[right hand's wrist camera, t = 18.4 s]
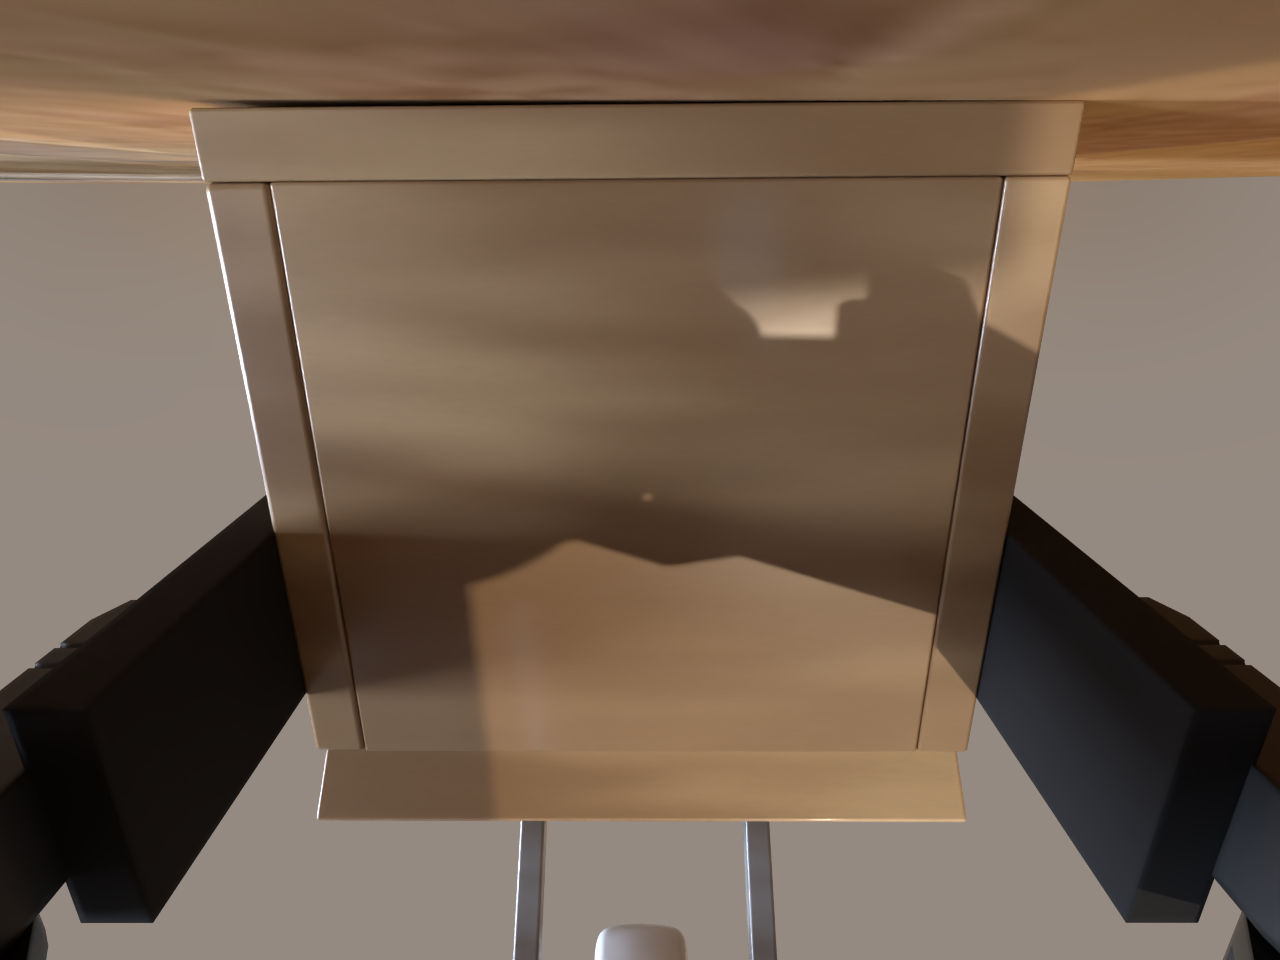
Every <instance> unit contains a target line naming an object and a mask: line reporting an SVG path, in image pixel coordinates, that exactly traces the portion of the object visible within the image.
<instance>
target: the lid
mask: <svg viewBox="0 0 1280 960" xmlns="http://www.w3.org/2000/svg"><path fill="white" fill-rule="evenodd" d="M317 819H318V820H392V821H393V820H394V821H397V820H398V821H400V820H401V821H521V825H520V843H519V861H518V878H517V896H516V914H515V932H514V950H513V960H541V946H542V924H543V901H544V879H545V856H546V833H547V821H743V835H744V858H745V880H746V902H747V924H748V946H749V960H777V950H776V933H775V916H774V898H773V881H772V863H771V846H770V829H769V821H797V822H800V821H801V822H803V821H805V822H964V821H966V813H965V806H964V800H963V793H962V786H961V779H960V772H959V766H958V759H957V752H956V751H918V750H917V749H916V751H914V752H798V751H367V750H366V747H364V748H363V749H360V750H327V753H326V760H325V767H324V773H323V780H322V787H321V793H320V800H319V807H318V813H317Z"/></svg>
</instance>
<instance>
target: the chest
mask: <svg viewBox="0 0 1280 960" xmlns="http://www.w3.org/2000/svg"><path fill="white" fill-rule="evenodd" d="M1084 108H1085V102H1084V101H1082V100H1055V101H903V102H794V103H686V104H577V105H468V106H359V107H251V108H192V109H190V110H189V115H190V120H191V125H192V130H193V135H194V140H195V145H196V150H197V155H198V160H199V165H200V170H201V175H202V179H203V180H204V181H206V182H212V183H211V184H209V185H208V186H207V189H206V192H207V197H208V203H209V208H210V213H211V218H212V223H213V228H214V233H215V238H216V243H217V248H218V253H219V258H220V263H221V268H222V273H223V278H224V283H225V288H226V293H227V298H228V303H229V308H230V313H231V318H232V323H233V329H234V334H235V338H236V344H237V349H238V354H239V359H240V364H241V369H242V374H243V379H244V384H245V389H246V394H247V399H248V404H249V409H250V414H251V419H252V424H253V430H254V434H255V440H256V445H257V450H258V455H259V460H260V465H261V470H262V475H263V480H264V485H265V490H266V495H267V500H268V505H269V510H270V515H271V520H272V525H273V530H274V532H275V537H276V542H277V548H278V553H279V558H280V563H281V569H282V574H283V579H284V584H285V589H286V595H287V600H288V605H289V610H290V615H291V621H292V626H293V631H294V636H295V641H296V646H297V651H298V657H299V662H300V667H301V672H302V677H303V682H304V687H305V692H306V697H307V702H308V707H309V712H310V717H311V722H312V727H313V732H314V737H315V742H316V746H317V748H318V749H321V750H360V749H363V748H364V747H366V750H367V751H798V752H914V751H916V749H917V750H918V751H966V750H967V746H968V741H969V735H970V730H971V724H972V719H973V713H974V708H975V702H976V697H977V691H978V686H979V680H980V675H981V669H982V664H983V659H984V653H985V648H986V642H987V637H988V631H989V626H990V620H991V615H992V609H993V604H994V598H995V593H996V587H997V582H998V576H999V571H1000V565H1001V560H1002V554H1003V549H1004V544H1005V538H1006V533H1007V527H1008V522H1009V516H1010V511H1011V505H1012V500H1013V494H1014V489H1015V483H1016V478H1017V472H1018V467H1019V461H1020V456H1021V450H1022V445H1023V439H1024V434H1025V429H1026V423H1027V418H1028V412H1029V406H1030V401H1031V396H1032V390H1033V385H1034V379H1035V373H1036V368H1037V363H1038V357H1039V352H1040V346H1041V341H1042V335H1043V330H1044V324H1045V319H1046V314H1047V308H1048V303H1049V297H1050V291H1051V286H1052V281H1053V275H1054V270H1055V264H1056V259H1057V253H1058V248H1059V242H1060V237H1061V231H1062V226H1063V220H1064V215H1065V209H1066V204H1067V198H1068V193H1069V188H1070V182H1071V180H1070V177H1068V176H1067V175H1070V174H1071V173H1072V172H1073V168H1074V163H1075V157H1076V152H1077V146H1078V141H1079V135H1080V130H1081V124H1082V119H1083V113H1084Z"/></svg>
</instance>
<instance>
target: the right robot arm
mask: <svg viewBox="0 0 1280 960" xmlns="http://www.w3.org/2000/svg"><path fill="white" fill-rule="evenodd" d="M1244 661H1245V660H1244V659H1242V658H1241V657H1240V656H1239V655H1237V654H1236V653H1235V652H1233V651H1232V650H1231V649H1230V648H1228V647H1227V646H1226V645H1220V644H1219V640H1218V639H1217V638H1215V637H1214V636H1213V635H1211V634H1210V633H1209V632H1208V631H1206V630H1205V629H1204V628H1202V627H1201V626H1200V625H1199V624H1197V623H1196V622H1195V621H1193V620H1192V619H1191V618H1190V617H1188V616H1186V615H1184V614H1182V613H1179V612H1177V611H1175V610H1173V609H1171V608H1169V607H1167V606H1165V605H1163V604H1161V603H1159V602H1157V601H1155V600H1153V599H1151V598H1149V597H1138V596H1137V595H1135V594H1134V593H1133V592H1132V591H1131V590H1129V589H1128V588H1127V587H1126V586H1124V585H1123V584H1122V583H1121V582H1120V581H1118V580H1117V579H1116V578H1115V577H1113V576H1112V575H1111V574H1110V573H1108V572H1107V571H1106V570H1105V569H1104V568H1102V567H1101V566H1100V565H1099V564H1097V563H1096V562H1095V561H1094V560H1092V559H1091V558H1090V557H1089V556H1087V555H1086V554H1085V553H1084V552H1083V551H1081V550H1080V549H1079V548H1078V547H1076V546H1075V545H1074V544H1073V543H1072V542H1070V541H1069V540H1068V539H1067V538H1065V537H1064V536H1063V535H1062V534H1060V533H1059V532H1058V531H1057V530H1056V529H1054V528H1053V527H1052V526H1051V525H1049V524H1048V523H1047V522H1046V521H1044V520H1043V519H1042V518H1041V517H1039V516H1038V515H1037V514H1036V513H1034V512H1033V511H1032V510H1031V509H1030V508H1028V507H1027V506H1026V505H1025V504H1023V503H1022V502H1021V501H1020V500H1019V499H1017V498H1016V497H1015V496H1014V495H1013V500H1012V505H1011V511H1010V516H1009V522H1008V527H1007V533H1006V538H1005V544H1004V549H1003V554H1002V560H1001V565H1000V571H999V576H998V582H997V587H996V593H995V598H994V604H993V609H992V615H991V620H990V626H989V631H988V637H987V642H986V648H985V653H984V659H983V664H982V669H981V675H980V680H979V686H978V691H977V697H976V698H977V699H978V701H979V702H980V704H981V705H982V707H983V708H984V710H985V711H986V713H987V714H988V716H989V717H990V719H991V720H992V722H993V723H994V725H995V726H996V728H997V729H998V731H999V732H1000V734H1001V735H1002V737H1003V738H1004V740H1005V741H1006V743H1007V744H1008V746H1009V747H1010V749H1011V750H1012V752H1013V753H1014V755H1015V756H1016V758H1017V759H1018V761H1019V762H1020V764H1021V765H1022V767H1023V768H1024V770H1025V771H1026V773H1027V774H1028V776H1029V777H1030V779H1031V780H1032V782H1033V783H1034V785H1035V786H1036V788H1037V789H1038V791H1039V792H1040V794H1041V795H1042V797H1043V798H1044V800H1045V801H1046V803H1047V804H1048V806H1049V807H1050V809H1051V810H1052V812H1053V813H1054V815H1055V816H1056V818H1057V820H1058V821H1059V822H1060V824H1061V825H1062V827H1063V828H1064V830H1065V831H1066V833H1067V835H1068V836H1069V837H1070V839H1071V841H1072V842H1073V844H1074V845H1075V847H1076V848H1077V850H1078V851H1079V853H1080V854H1081V856H1082V857H1083V859H1084V860H1085V862H1086V863H1087V865H1088V866H1089V868H1090V869H1091V871H1092V872H1093V874H1094V875H1095V877H1096V878H1097V880H1098V881H1099V883H1100V884H1101V886H1102V887H1103V889H1104V890H1105V892H1106V893H1107V895H1108V896H1109V898H1110V899H1111V901H1112V902H1113V904H1114V905H1115V907H1116V908H1117V910H1118V911H1119V913H1120V914H1121V916H1122V917H1123V919H1124V920H1125V922H1126V923H1198V921H1199V919H1200V916H1201V913H1202V910H1203V908H1204V905H1205V902H1206V900H1207V897H1208V894H1209V891H1210V889H1211V886H1212V883H1213V880H1214V878H1215V880H1216V881H1217V882H1218V883H1219V884H1220V886H1221V887H1222V888H1223V889H1224V890H1225V892H1226V893H1227V894H1228V895H1229V896H1230V898H1231V899H1232V900H1233V901H1234V902H1235V904H1236V905H1237V906H1238V907H1239V908H1240V910H1241V911H1242V912H1241V915H1240V918H1239V920H1238V923H1237V925H1236V928H1235V930H1234V933H1233V935H1232V938H1231V940H1230V943H1229V945H1228V948H1227V951H1226V953H1225V956H1224V958H1223V960H1280V687H1279V686H1277V685H1276V684H1275V683H1273V682H1272V681H1271V680H1270V679H1268V678H1267V677H1266V676H1264V675H1263V674H1262V673H1261V672H1259V671H1258V670H1257V669H1255V668H1254V667H1253V666H1251V665H1245V663H1244ZM305 694H306V692H305V687H304V682H303V677H302V672H301V667H300V662H299V657H298V651H297V646H296V641H295V636H294V631H293V626H292V621H291V615H290V610H289V605H288V600H287V595H286V589H285V584H284V579H283V574H282V569H281V563H280V558H279V553H278V548H277V542H276V537H275V532H274V530H273V525H272V520H271V515H270V510H269V505H268V500H267V495H266V496H264V497H263V498H262V499H261V500H259V501H258V502H257V503H256V504H254V505H253V506H252V507H251V508H250V509H248V510H247V511H246V512H245V513H243V514H242V515H241V516H240V517H238V518H237V519H236V520H235V521H234V522H232V523H231V524H230V525H229V526H227V527H226V528H225V529H224V530H222V531H221V532H220V533H219V534H217V535H216V536H215V537H214V538H213V539H211V540H210V541H209V542H208V543H206V544H205V545H204V546H203V547H201V548H200V549H199V550H198V551H197V552H195V553H194V554H193V555H192V556H190V557H189V558H188V559H187V560H186V561H184V562H183V563H182V564H181V565H179V566H178V567H177V568H176V569H174V570H173V571H172V572H171V573H169V574H168V575H167V576H166V577H165V578H163V579H162V580H161V581H160V582H158V583H157V584H156V585H155V586H153V587H152V588H151V589H150V590H149V591H147V592H146V593H145V594H144V595H142V596H141V597H140V598H139V599H137V600H130V601H128V602H126V603H124V604H122V605H120V606H118V607H116V608H114V609H112V610H110V611H108V612H106V613H104V614H102V615H100V616H98V617H96V618H94V619H92V620H90V621H89V622H88V623H86V624H85V625H84V626H82V627H81V628H80V629H79V630H77V631H76V632H75V633H73V634H72V635H71V636H70V637H68V638H67V639H66V640H64V641H63V642H62V643H61V646H60V648H54V649H53V650H52V651H50V652H49V653H48V654H47V655H45V656H44V657H43V658H41V659H40V660H39V661H38V662H36V663H35V668H29V669H27V670H26V671H25V672H23V673H22V674H21V675H20V676H18V677H17V678H16V679H15V680H13V681H12V682H11V683H9V684H8V685H7V686H5V687H4V688H3V689H2V690H0V960H46V957H47V950H48V942H47V936H46V931H45V928H44V925H43V923H42V920H41V917H40V915H39V913H40V912H41V911H42V909H43V908H44V907H45V906H46V905H47V903H48V902H49V901H50V900H51V898H52V897H53V896H54V895H55V894H56V892H57V891H58V890H59V889H60V888H61V886H62V885H63V884H64V883H65V882H66V884H67V886H68V889H69V892H70V894H71V897H72V900H73V903H74V905H75V908H76V911H77V913H78V916H79V919H80V922H81V923H153V922H154V921H155V919H156V917H157V916H158V915H159V913H160V912H161V910H162V908H163V907H164V905H165V904H166V902H167V901H168V899H169V898H170V896H171V895H172V893H173V892H174V890H175V889H176V887H177V886H178V884H179V883H180V881H181V880H182V878H183V877H184V875H185V874H186V872H187V871H188V869H189V868H190V866H191V865H192V863H193V862H194V860H195V859H196V857H197V856H198V854H199V853H200V851H201V850H202V848H203V847H204V845H205V844H206V842H207V841H208V839H209V838H210V836H211V835H212V833H213V832H214V830H215V829H216V827H217V826H218V824H219V823H220V821H221V820H222V818H223V817H224V815H225V814H226V812H227V811H228V809H229V808H230V806H231V805H232V803H233V802H234V800H235V799H236V797H237V796H238V794H239V793H240V791H241V790H242V788H243V787H244V785H245V784H246V782H247V781H248V779H249V778H250V776H251V775H252V773H253V772H254V770H255V769H256V767H257V766H258V764H259V763H260V761H261V760H262V758H263V757H264V755H265V754H266V752H267V751H268V749H269V748H270V746H271V745H272V743H273V742H274V740H275V739H276V737H277V736H278V734H279V733H280V731H281V730H282V728H283V727H284V725H285V724H286V722H287V721H288V719H289V718H290V716H291V715H292V713H293V711H294V710H295V709H296V707H297V706H298V704H299V703H300V701H301V700H302V698H303V697H304V695H305Z"/></svg>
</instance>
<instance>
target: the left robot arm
mask: <svg viewBox="0 0 1280 960" xmlns="http://www.w3.org/2000/svg"><path fill="white" fill-rule="evenodd" d="M595 960H688V957H687V948H686V942H685V938H684V936H683V934H682V933H681V932H680V931H679V930H678V929H676V928H673V927H670V926H665V925H655V924H627V925H618V926H612V927H609V928H606V929H605V930H603V931H602V932H601V933H600V935H599V937H598V940H597V944H596V951H595Z"/></svg>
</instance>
